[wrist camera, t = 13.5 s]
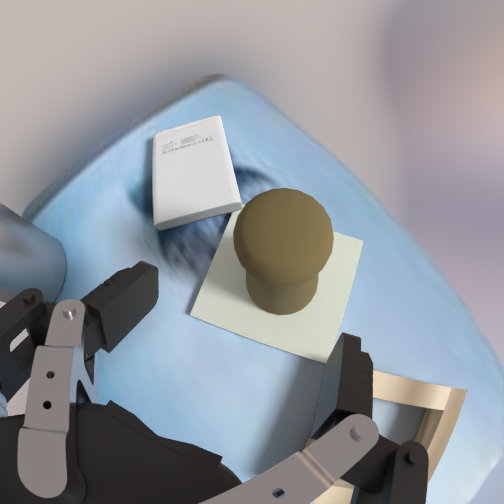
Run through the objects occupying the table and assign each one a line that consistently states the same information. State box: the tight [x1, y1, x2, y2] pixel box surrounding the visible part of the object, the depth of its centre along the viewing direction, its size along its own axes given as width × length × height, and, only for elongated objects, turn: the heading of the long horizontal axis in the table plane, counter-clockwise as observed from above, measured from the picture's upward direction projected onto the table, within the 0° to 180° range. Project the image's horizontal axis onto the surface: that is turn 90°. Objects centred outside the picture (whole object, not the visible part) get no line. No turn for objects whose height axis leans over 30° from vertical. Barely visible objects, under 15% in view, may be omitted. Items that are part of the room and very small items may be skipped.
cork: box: [233, 188, 334, 315], centre depth 18 cm, size 6×6×11 cm
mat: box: [190, 204, 363, 364], centre depth 24 cm, size 12×11×1 cm
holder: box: [304, 370, 467, 504], centre depth 17 cm, size 12×12×3 cm
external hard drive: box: [152, 116, 242, 231], centre depth 27 cm, size 2×8×12 cm
